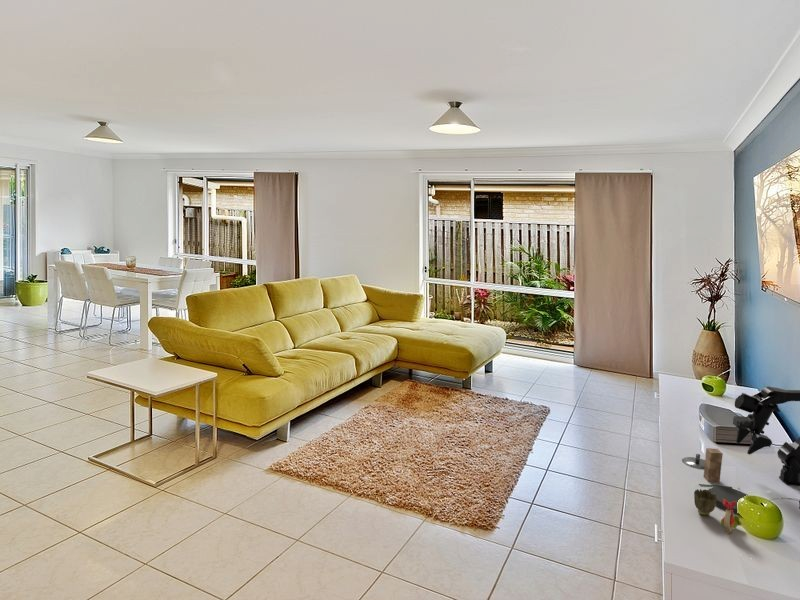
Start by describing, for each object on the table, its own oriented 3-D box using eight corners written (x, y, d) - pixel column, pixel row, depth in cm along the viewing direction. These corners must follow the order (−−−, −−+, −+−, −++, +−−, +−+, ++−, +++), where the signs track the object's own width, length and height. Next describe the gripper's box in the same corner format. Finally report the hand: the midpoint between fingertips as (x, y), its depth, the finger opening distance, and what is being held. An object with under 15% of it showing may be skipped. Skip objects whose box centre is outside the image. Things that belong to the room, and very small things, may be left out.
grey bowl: (706, 460, 238) (707, 449, 237) (717, 472, 226) (718, 461, 226) (677, 458, 240) (678, 447, 239) (687, 470, 228) (688, 459, 227)
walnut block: (714, 478, 220) (717, 448, 218) (719, 483, 216) (722, 453, 214) (703, 477, 221) (706, 448, 219) (707, 482, 217) (710, 452, 215)
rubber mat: (721, 477, 222) (721, 476, 222) (732, 489, 213) (732, 487, 213) (691, 474, 224) (691, 473, 224) (700, 486, 215) (700, 485, 214)
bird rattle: (738, 541, 181) (742, 521, 187) (740, 519, 176) (744, 499, 182) (717, 535, 185) (722, 515, 191) (718, 513, 180) (723, 493, 186)
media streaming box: (699, 497, 206) (700, 490, 206) (724, 490, 212) (725, 483, 212) (736, 517, 193) (737, 509, 193) (761, 508, 199) (762, 501, 199)
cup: (687, 510, 196) (689, 490, 195) (702, 507, 199) (704, 487, 198) (705, 521, 189) (707, 500, 188) (720, 517, 192) (722, 497, 191)
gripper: (730, 400, 227) (714, 431, 231) (753, 420, 209) (735, 453, 213) (755, 408, 227) (739, 439, 231) (780, 429, 209) (762, 462, 213)
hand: (742, 448), depth 222 cm, fingers open, 9 cm apart
